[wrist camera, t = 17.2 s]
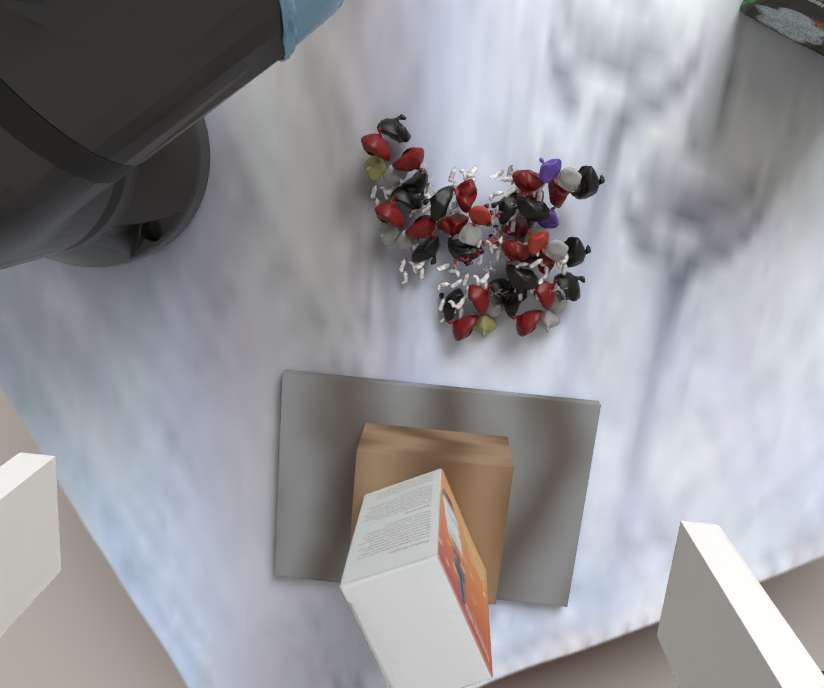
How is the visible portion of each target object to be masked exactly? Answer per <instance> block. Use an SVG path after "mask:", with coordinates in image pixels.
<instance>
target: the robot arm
mask: <svg viewBox="0 0 824 688" xmlns="http://www.w3.org/2000/svg"><path fill="white" fill-rule="evenodd" d="M343 2H344V0H0V270H1V269H5V268H8V267H12V266H15V265H19V264H22V263H25V262H29V261H32V260H36V259H39V258H43V257H46V258H49V259H53V260H56V261H59V262H63V263H66V264H71V265H76V266H84V267H106V266H114V265H120V264H124V263H128V262H131V261H133V260H136V259H139V258H142V257H145V256H147V255H149V254H152V253H154V252H156V251H158V250H159V249H161V248H163V247H164V246H166V245H167V244H169V243H170V242H171V241H172V240H174V239H175V238H176V237H177V236H178V235H179V234H180V233H181V232H182V231H183V230H184V229H185V227H186V226H187V225H188V224H189V222H190V221H191V219H192V218H193V216H194V215H195V213H196V211H197V209H198V207H199V205H200V203H201V201H202V198H203V195H204V192H205V189H206V185H207V181H208V175H209V167H210V147H209V138H208V132H207V128H206V124H205V120H204V116H205V115H207V114H208V113H209V112H211V111H212V110H213V109H215V108H216V107H217V106H219V105H220V104H221V103H223V102H224V101H225V100H227V99H228V98H229V97H230V96H232V95H233V94H234V93H236V92H237V91H238V90H240V89H241V88H242V87H244V86H245V85H246V84H248V83H249V82H250V81H252V80H253V79H254V78H256V77H257V76H258V75H260V74H261V73H262V72H264V71H265V70H266V69H267V68H269V67H270V66H271V65H273V64H274V63H275V62H277V61H278V60H279V61H280V62H282V61H285V60H287V59H289V58H290V56H291V54H292V53H293V52H294V50H295V46H296V45H297V44H299V43H300V42H301V41H302V40H303V39H305V38H306V37H307V36H308V35H309V34H311V33H312V32H313V31H314V30H315V29H317V28H318V27H319V26H320V25H321V24H323V23H324V22H325V21H326V20H327V19H328V18H330V17H331V16H332V15H333V14H334V13H335V12H336V11H337V10H338V9H339V8H340V6H341V5H342V4H343ZM60 571H61V557H60V536H59V516H58V496H57V476H56V456H50V455H40V454H30V453H18V454H17V455H16V456H14V457H13V458H12V459H10V460H9V461H7V462H6V463H4V464H3V465H2V466H0V637H1V636H2V635H3V633H4V632H5V631H6V630H7V629H8V628H9V627H10V626H11V625H12V624H13V622H14V621H15V620H16V619H17V618H18V617H19V616H20V615H21V614H22V613H23V612H24V611H25V610H26V608H27V607H28V606H29V605H30V604H31V603H32V602H33V601H34V600H35V599H36V597H37V596H38V595H39V594H40V593H41V592H42V591H43V590H44V589H45V588H46V587H47V585H48V584H49V583H50V582H51V581H52V580H53V579H54V578H55V576H57V575H58V573H59V572H60ZM657 636H658V638H659V641H660V643H661V645H662V648H663V650H664V653H665V655H666V657H667V660H668V662H669V664H670V667H671V669H672V672H673V674H674V676H675V679H676V681H677V684H678V686H679V688H824V671H820V669H819V668H818V666H817V665H816V664H815V662H814V661H813V659H812V658H811V656H810V655H809V654H808V652H807V651H806V649H805V648H804V646H803V645H802V644H801V642H800V641H799V639H798V638H797V636H796V635H795V634H794V632H793V631H792V629H791V628H790V626H789V625H788V624H787V622H786V621H785V619H784V618H783V616H781V614H780V612H779V611H778V609H777V608H776V607H775V605H774V604H773V602H772V601H771V599H770V598H769V596H768V595H767V594H766V592H765V591H764V589H763V588H762V586H761V585H760V584H759V582H758V581H757V579H756V578H755V577H754V575H753V574H752V572H751V571H750V569H749V568H748V567H747V565H746V564H745V562H744V561H743V559H742V558H741V557H740V555H739V554H738V552H737V551H736V549H735V548H734V547H733V545H732V544H731V542H730V541H729V539H728V538H727V537H726V535H725V534H724V532H723V531H722V529H721V528H720V527H719V525H716V524H707V523H697V522H687V521H681V522H680V527H679V532H678V536H677V541H676V546H675V551H674V556H673V560H672V565H671V570H670V575H669V580H668V585H667V589H666V594H665V599H664V604H663V609H662V613H661V618H660V623H659V628H658V633H657Z"/></svg>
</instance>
